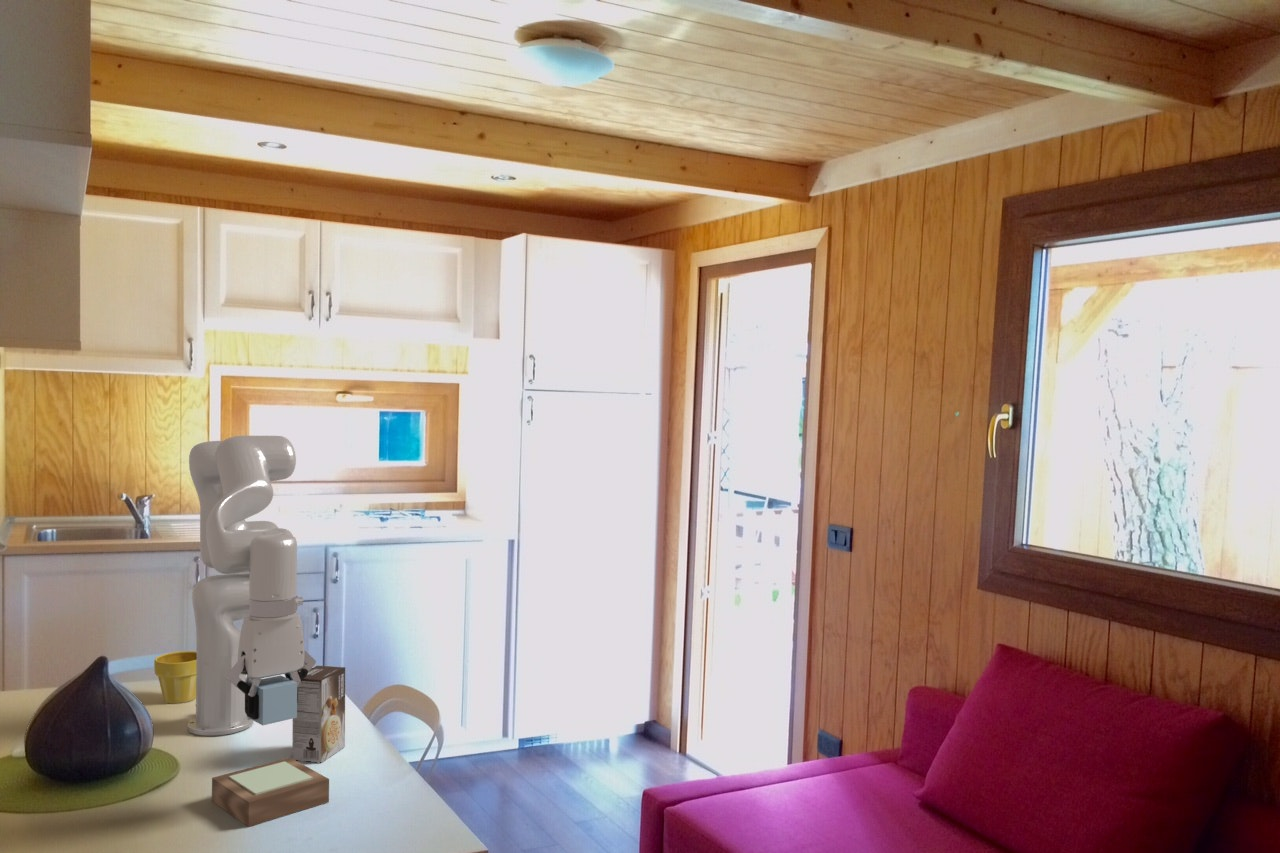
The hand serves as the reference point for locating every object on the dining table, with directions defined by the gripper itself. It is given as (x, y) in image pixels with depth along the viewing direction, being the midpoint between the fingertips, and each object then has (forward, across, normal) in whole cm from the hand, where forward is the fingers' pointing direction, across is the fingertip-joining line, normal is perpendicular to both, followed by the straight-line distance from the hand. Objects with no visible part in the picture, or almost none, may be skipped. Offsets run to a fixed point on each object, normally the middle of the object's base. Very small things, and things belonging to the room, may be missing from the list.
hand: (271, 712), depth 166 cm
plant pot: (+15, -11, -67) cm, 70 cm away
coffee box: (+16, -17, -15) cm, 28 cm away
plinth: (+15, 0, 0) cm, 15 cm away
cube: (+1, 0, 0) cm, 1 cm away
